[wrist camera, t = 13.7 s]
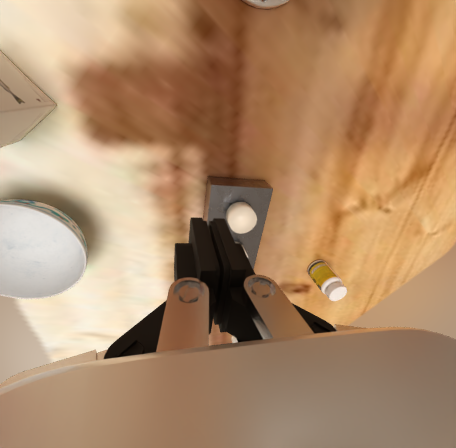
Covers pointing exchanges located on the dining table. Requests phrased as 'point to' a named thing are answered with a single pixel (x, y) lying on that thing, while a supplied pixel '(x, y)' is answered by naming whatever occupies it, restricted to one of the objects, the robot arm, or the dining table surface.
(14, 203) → the chinaware
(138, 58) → the dining table surface
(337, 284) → the supplement bottle
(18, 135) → the supplement box
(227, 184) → the knob plate
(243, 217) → the knob
